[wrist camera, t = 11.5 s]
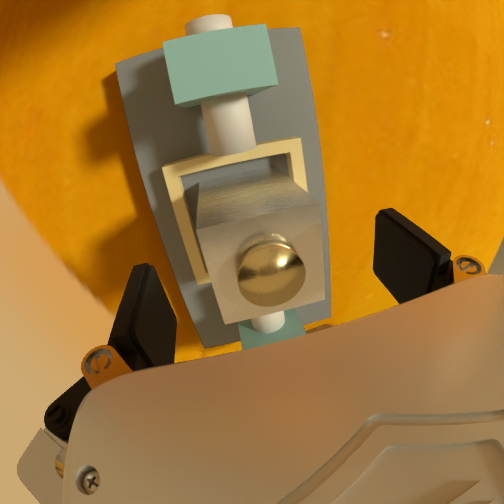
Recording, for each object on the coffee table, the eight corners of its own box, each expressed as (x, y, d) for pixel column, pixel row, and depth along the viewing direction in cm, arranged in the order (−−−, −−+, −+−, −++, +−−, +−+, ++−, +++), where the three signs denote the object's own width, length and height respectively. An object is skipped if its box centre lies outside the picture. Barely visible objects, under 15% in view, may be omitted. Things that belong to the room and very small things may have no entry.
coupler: (199, 182, 18) (195, 238, 10) (274, 166, 18) (327, 209, 10) (216, 248, 20) (226, 336, 12) (284, 233, 20) (331, 309, 13)
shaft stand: (121, 66, 14) (77, 45, 8) (293, 33, 15) (338, -2, 8) (204, 337, 26) (207, 402, 19) (325, 307, 27) (356, 363, 20)
